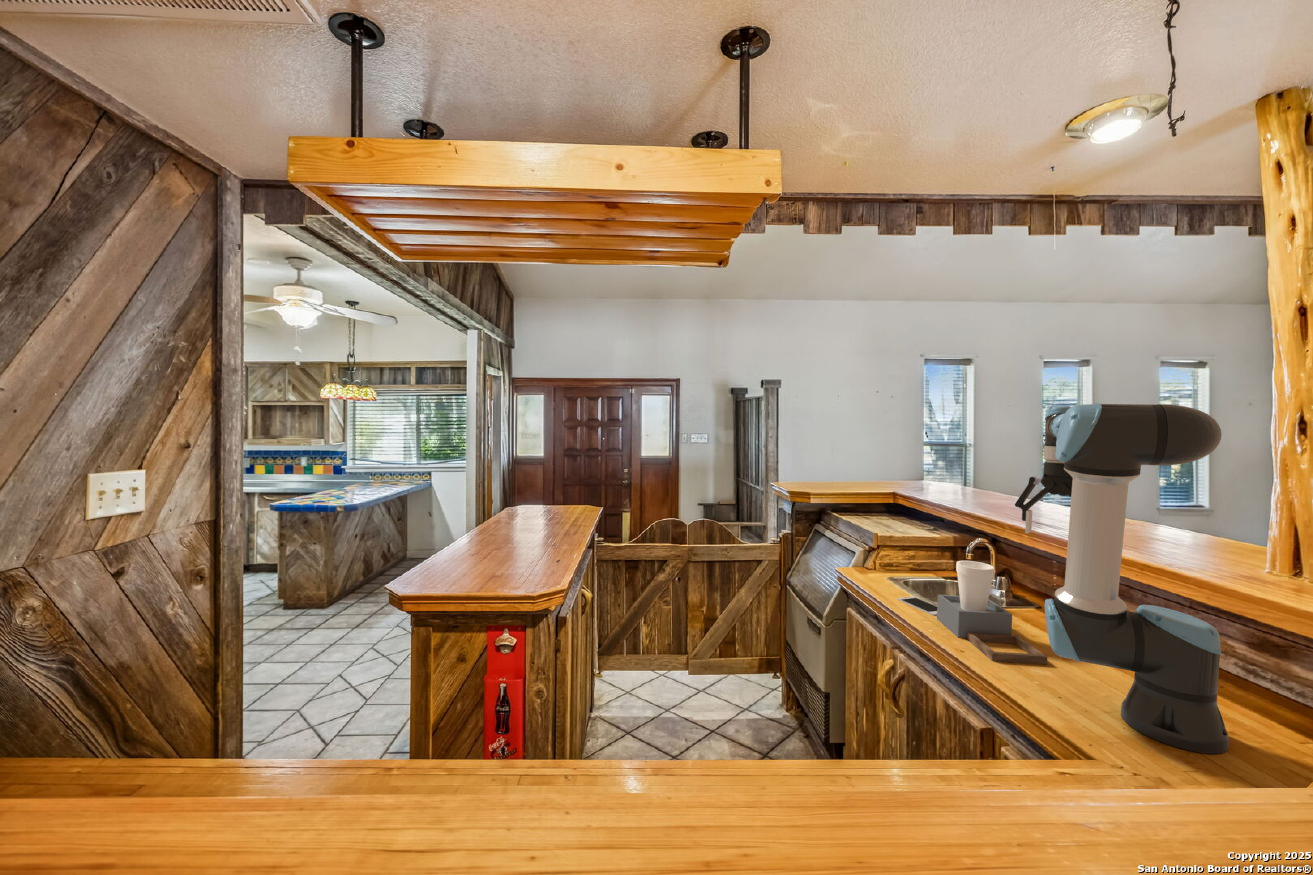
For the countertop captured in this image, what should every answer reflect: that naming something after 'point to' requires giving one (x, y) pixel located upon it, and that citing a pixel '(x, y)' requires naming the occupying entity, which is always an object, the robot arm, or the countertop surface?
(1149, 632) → the robot arm
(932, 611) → the smartphone
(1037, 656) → the walnut collar
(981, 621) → the charcoal stand
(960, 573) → the foam cup
